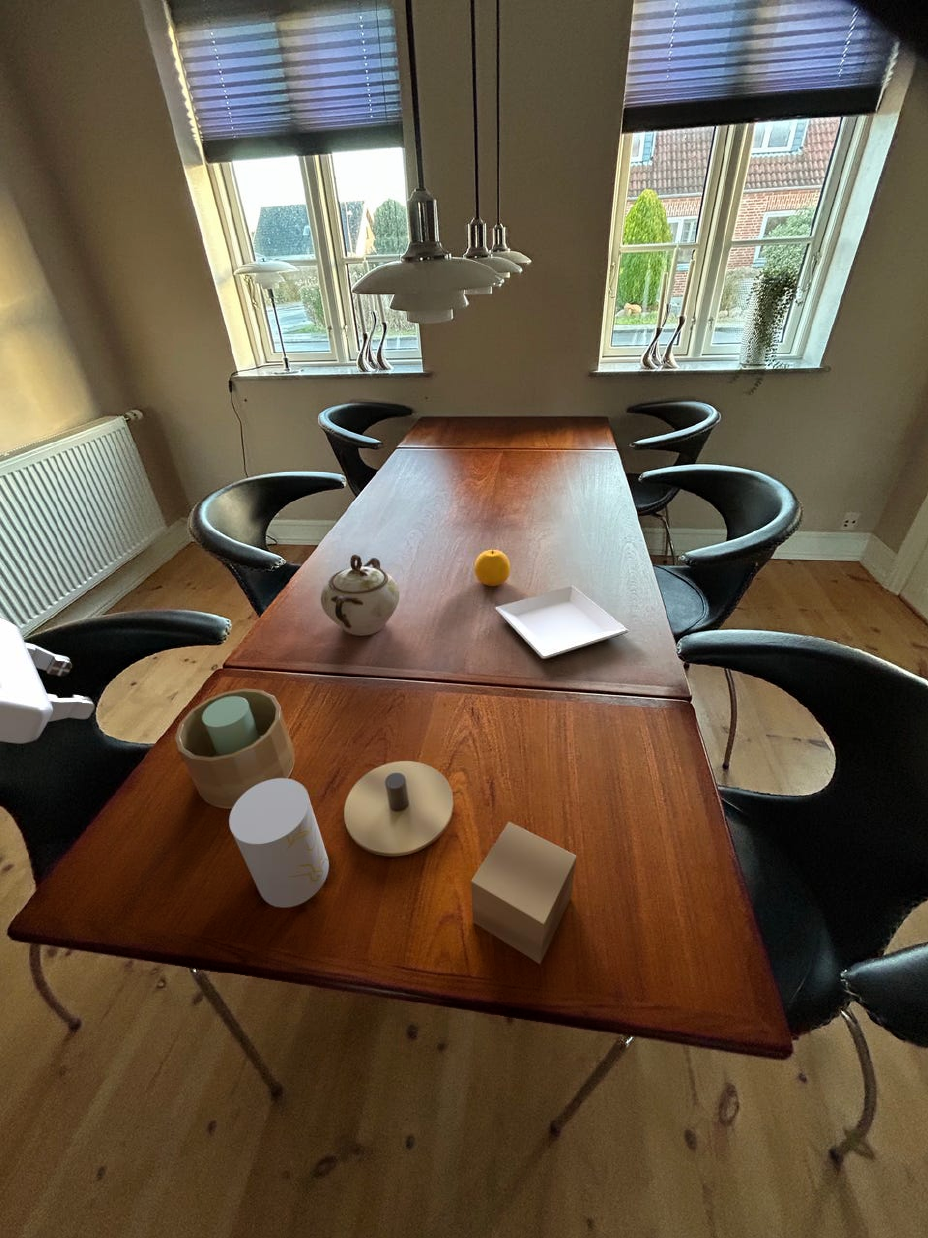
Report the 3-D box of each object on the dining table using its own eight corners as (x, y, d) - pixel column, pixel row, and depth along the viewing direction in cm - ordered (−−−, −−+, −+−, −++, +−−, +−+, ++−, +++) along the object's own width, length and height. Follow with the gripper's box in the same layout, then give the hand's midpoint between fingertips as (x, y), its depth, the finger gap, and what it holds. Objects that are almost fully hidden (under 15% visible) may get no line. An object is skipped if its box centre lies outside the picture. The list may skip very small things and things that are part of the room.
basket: (239, 825, 68) (218, 776, 63) (178, 782, 75) (154, 734, 69) (313, 757, 78) (300, 709, 72) (254, 724, 84) (237, 678, 78)
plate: (542, 667, 93) (543, 658, 92) (494, 615, 107) (494, 606, 106) (628, 639, 99) (630, 630, 98) (572, 593, 113) (573, 584, 112)
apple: (471, 588, 116) (470, 558, 112) (478, 571, 123) (478, 542, 118) (507, 592, 115) (507, 561, 110) (512, 574, 121) (513, 544, 117)
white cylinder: (319, 907, 59) (297, 843, 53) (248, 907, 59) (216, 844, 53) (335, 841, 66) (317, 777, 59) (271, 842, 66) (245, 778, 60)
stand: (540, 964, 54) (544, 924, 49) (472, 922, 57) (470, 881, 53) (571, 897, 59) (577, 856, 55) (507, 862, 63) (508, 821, 58)
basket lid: (410, 880, 61) (405, 852, 58) (322, 825, 68) (313, 797, 65) (474, 793, 71) (473, 765, 68) (391, 752, 78) (387, 724, 75)
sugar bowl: (350, 595, 116) (339, 532, 107) (415, 601, 113) (409, 537, 104) (308, 648, 100) (291, 579, 92) (383, 657, 97) (372, 587, 88)
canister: (244, 790, 72) (220, 733, 66) (217, 773, 75) (192, 716, 69) (277, 761, 76) (257, 705, 70) (250, 746, 79) (229, 690, 73)
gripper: (-75, 677, 39) (122, 708, 50) (-88, 582, 51) (71, 624, 62) (-117, 752, 39) (89, 767, 50) (-120, 639, 51) (45, 670, 62)
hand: (79, 687), depth 56 cm, fingers open, 8 cm apart
